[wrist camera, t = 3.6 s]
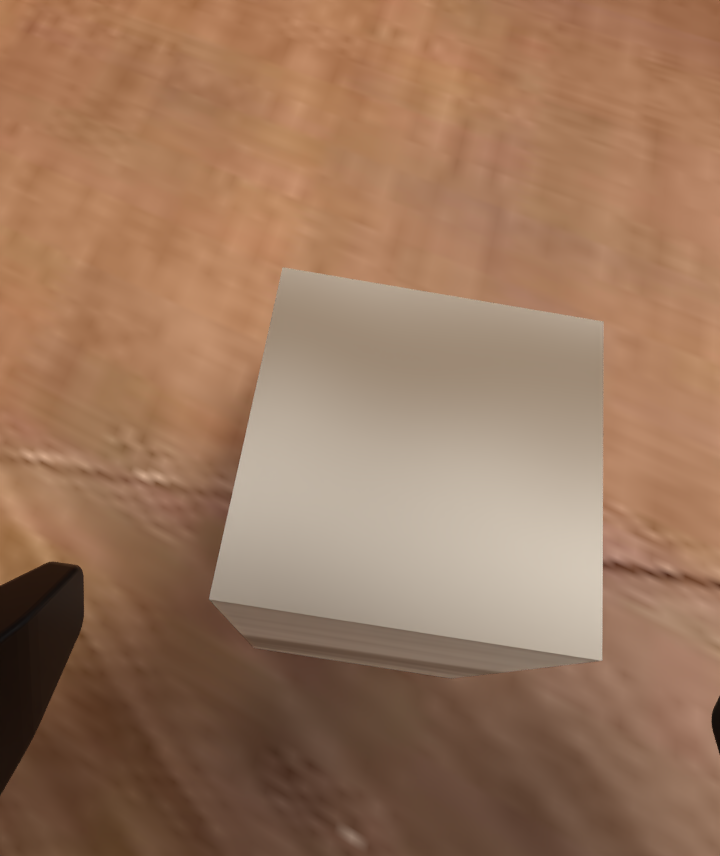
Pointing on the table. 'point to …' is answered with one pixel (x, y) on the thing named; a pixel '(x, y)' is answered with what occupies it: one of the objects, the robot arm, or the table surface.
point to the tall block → (419, 484)
